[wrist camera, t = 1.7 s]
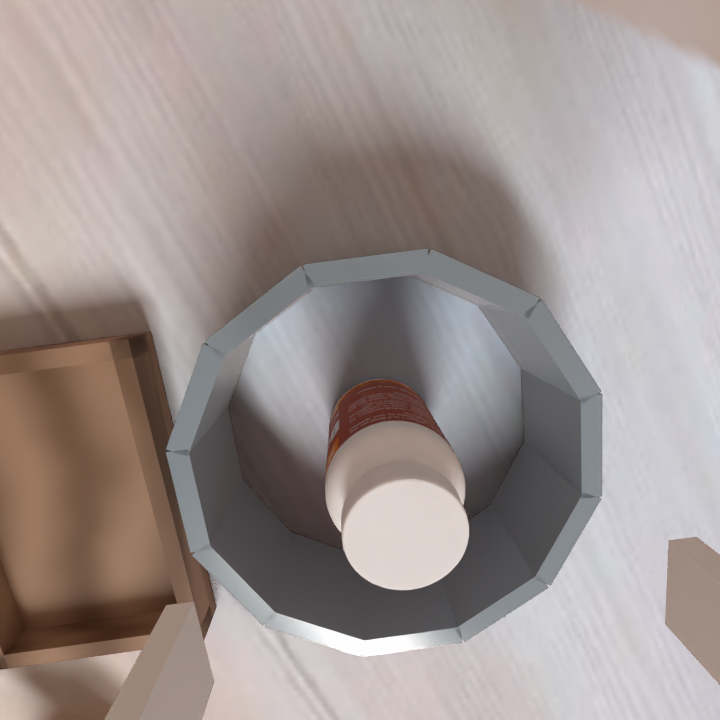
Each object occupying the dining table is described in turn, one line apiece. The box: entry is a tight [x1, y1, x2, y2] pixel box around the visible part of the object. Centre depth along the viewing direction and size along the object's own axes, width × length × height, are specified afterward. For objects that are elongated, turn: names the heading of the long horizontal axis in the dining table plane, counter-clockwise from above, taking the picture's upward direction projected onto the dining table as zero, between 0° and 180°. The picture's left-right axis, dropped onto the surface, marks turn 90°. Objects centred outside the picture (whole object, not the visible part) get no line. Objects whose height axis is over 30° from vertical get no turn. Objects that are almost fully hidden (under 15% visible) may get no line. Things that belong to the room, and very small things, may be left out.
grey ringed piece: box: [166, 248, 602, 657], centre depth 22 cm, size 20×20×6 cm
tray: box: [0, 332, 216, 670], centre depth 25 cm, size 13×19×3 cm
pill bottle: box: [325, 378, 469, 590], centre depth 20 cm, size 6×6×11 cm
